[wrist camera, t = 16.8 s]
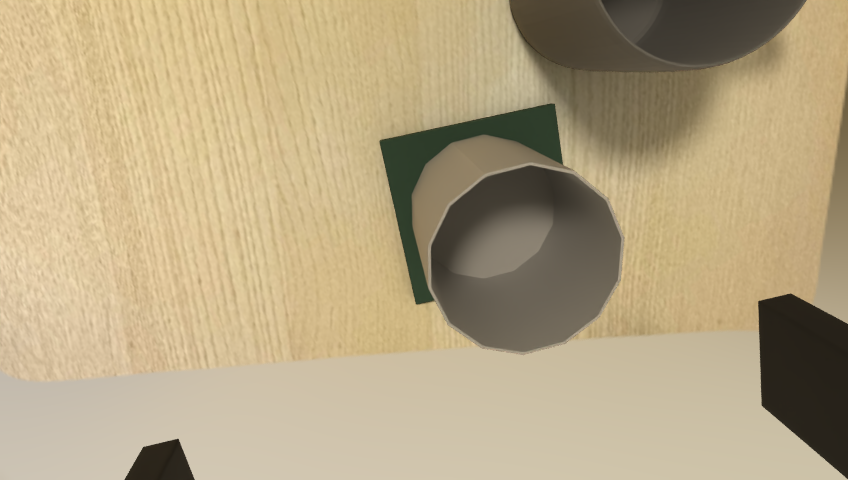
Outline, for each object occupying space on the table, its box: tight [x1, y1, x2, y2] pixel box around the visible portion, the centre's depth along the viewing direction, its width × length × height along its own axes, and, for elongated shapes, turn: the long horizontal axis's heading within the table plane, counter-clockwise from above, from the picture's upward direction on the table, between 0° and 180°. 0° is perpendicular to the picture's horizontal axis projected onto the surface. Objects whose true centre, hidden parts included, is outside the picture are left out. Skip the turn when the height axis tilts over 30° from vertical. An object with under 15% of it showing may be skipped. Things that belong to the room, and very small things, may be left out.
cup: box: [412, 135, 624, 355], centre depth 29 cm, size 8×8×10 cm
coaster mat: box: [380, 104, 563, 304], centre depth 34 cm, size 10×10×1 cm
